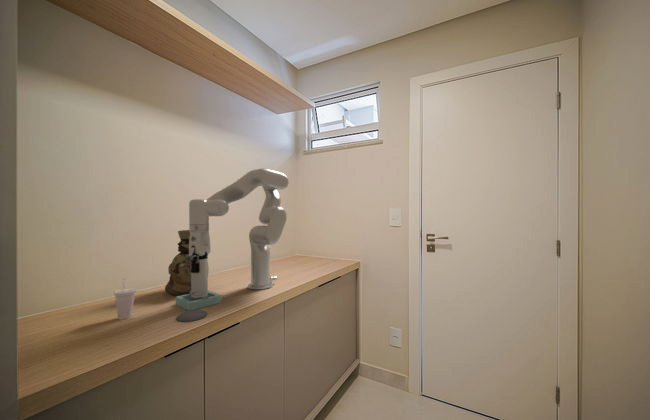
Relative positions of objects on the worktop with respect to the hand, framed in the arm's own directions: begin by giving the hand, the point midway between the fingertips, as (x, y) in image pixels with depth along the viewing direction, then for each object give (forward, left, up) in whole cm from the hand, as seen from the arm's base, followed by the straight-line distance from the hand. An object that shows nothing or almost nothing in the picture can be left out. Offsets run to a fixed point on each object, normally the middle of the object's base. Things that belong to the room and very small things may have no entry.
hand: (199, 270), depth 109 cm
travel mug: (0, 0, -12) cm, 12 cm away
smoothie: (+24, -5, -14) cm, 29 cm away
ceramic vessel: (-5, -23, -14) cm, 27 cm away
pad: (+8, +13, -14) cm, 21 cm away
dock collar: (0, 0, -14) cm, 14 cm away
